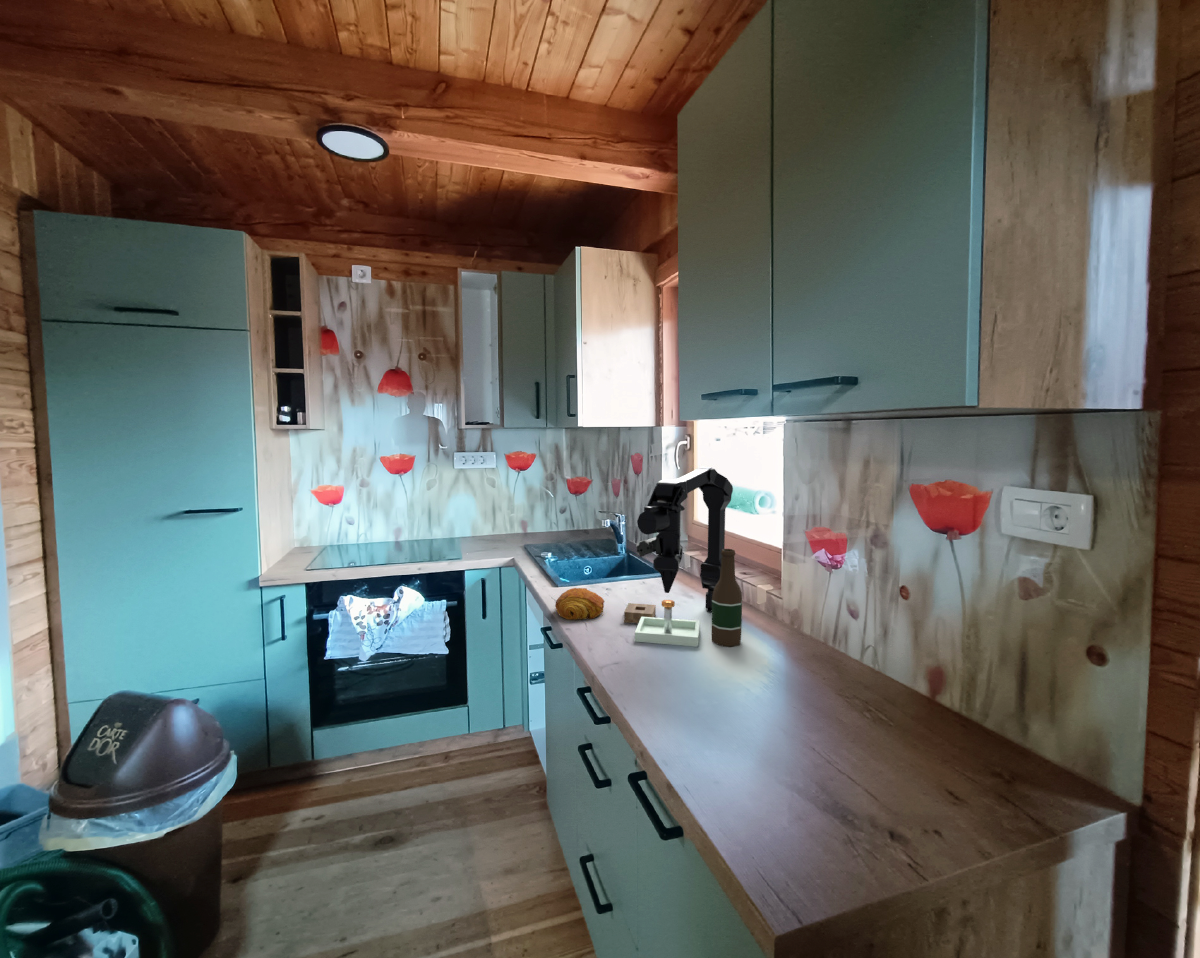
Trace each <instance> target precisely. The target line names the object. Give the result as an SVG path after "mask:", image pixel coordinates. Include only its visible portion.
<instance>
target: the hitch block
mask: <svg viewBox="0 0 1200 958" xmlns="http://www.w3.org/2000/svg"><path fill="white" fill-rule="evenodd" d="M656 607H657V606H656V604H645V603H630V602H629V603H628V604H627V606H626V608H625V610H624V613H623V622H624V623H627V624H628V623H629V624H638V623H639V621H640V619H641V617H654V618H656V615H657V614H656V612H657V611H656Z"/></svg>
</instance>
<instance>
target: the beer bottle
mask: <svg viewBox="0 0 1200 958" xmlns="http://www.w3.org/2000/svg"><path fill="white" fill-rule="evenodd" d="M721 555H722V560H721V573H720V579H719V581H718V583H717V584H716V586H715V588H714V591H713V595H712V612H711V633H710V634H711V642H712V643H713V644H716V645H717V646H721V647H728V648H732V647H737V646H740V644H741V640H742V628H743V627H742V622H743V619H742V618H743V617H742V616H743V592H742V589H741V587H740V585H739V583H738V582H737V578H736V567H735V566H736V565H735V562H736V561H735V555H736V550H735V549H731V548H724V549H722V551H721Z"/></svg>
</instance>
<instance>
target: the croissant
mask: <svg viewBox="0 0 1200 958" xmlns="http://www.w3.org/2000/svg"><path fill="white" fill-rule="evenodd" d="M604 604H605V600H604V598H603V597H601V595H598V594H597V592H594V591H591V590H589V589H587V588H583V587H578V588H577V587H573V588H572V587H571V588H570V589H567V590H565V591H564V592H563V593H561V595H559V597H557V599H556V600H555V605H554V607H555V609H556V611H557V613H558V615H559V616H560V617H561V618H563V619H566V620H570V621H571V620H573V621H574V620H585V619H588V620H589V619H595V618H597V617H599V616H600V615H602V613H603V611H604V607H605V605H604Z"/></svg>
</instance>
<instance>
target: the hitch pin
mask: <svg viewBox="0 0 1200 958" xmlns="http://www.w3.org/2000/svg"><path fill="white" fill-rule="evenodd" d="M675 605H676V604H675V600H672V599H663V600H661V606H662V608H664V609H663V612H664V613H663V616H664V617H663V618H664V633H667V634H672V619H673V614H672V613H673V608H674V607H675Z"/></svg>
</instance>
